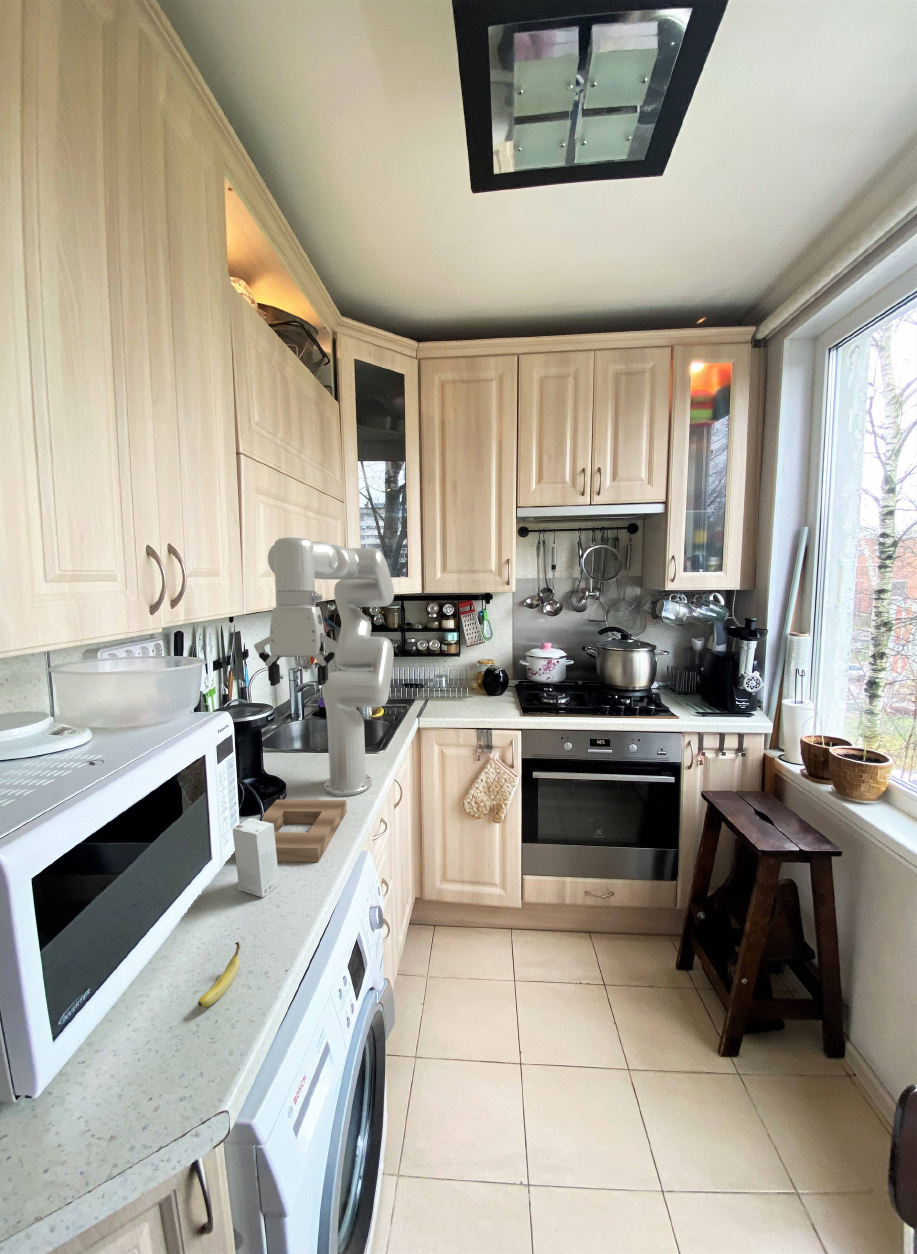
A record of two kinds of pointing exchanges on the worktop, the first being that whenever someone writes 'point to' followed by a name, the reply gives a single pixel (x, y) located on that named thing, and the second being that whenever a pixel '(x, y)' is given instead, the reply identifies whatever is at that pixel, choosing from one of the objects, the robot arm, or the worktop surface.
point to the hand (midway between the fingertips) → (298, 684)
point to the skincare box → (256, 857)
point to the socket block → (304, 811)
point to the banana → (221, 981)
